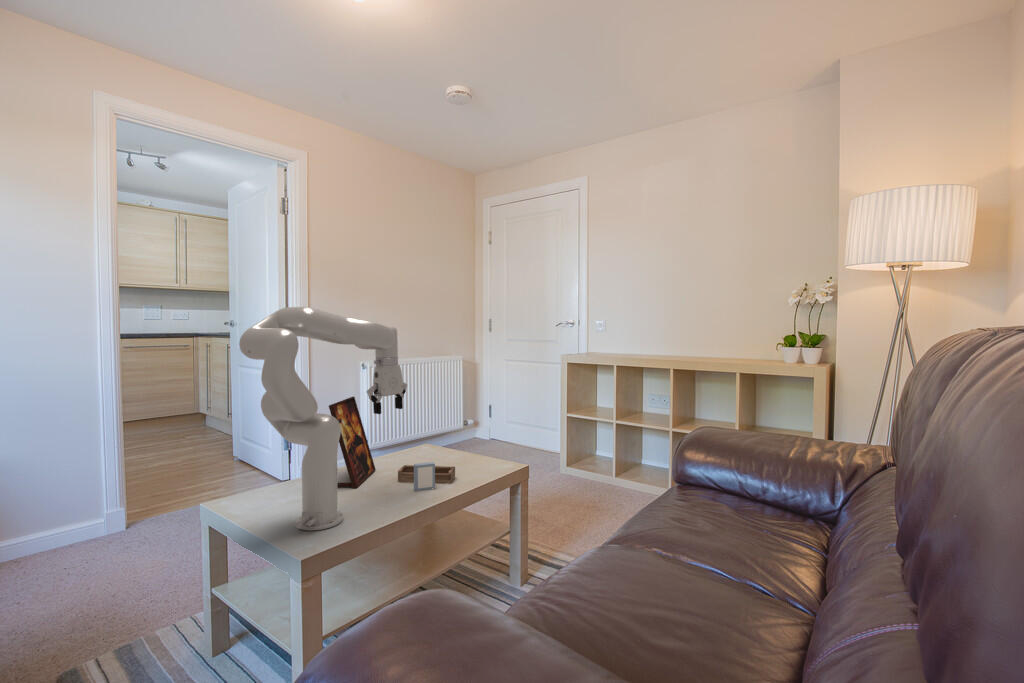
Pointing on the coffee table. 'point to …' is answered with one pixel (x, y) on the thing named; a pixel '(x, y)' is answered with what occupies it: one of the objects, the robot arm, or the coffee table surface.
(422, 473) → the blue frame tile
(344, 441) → the picture frame
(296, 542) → the coffee table surface
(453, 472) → the wooden tray box
